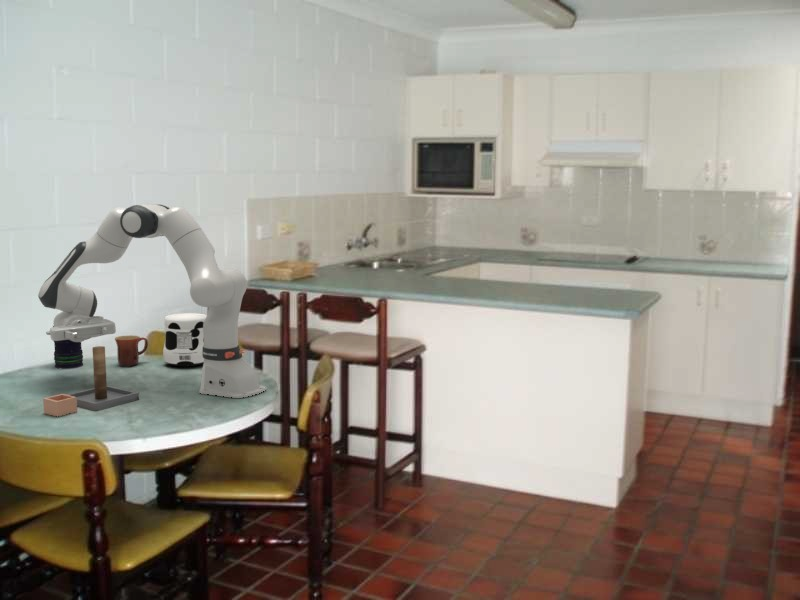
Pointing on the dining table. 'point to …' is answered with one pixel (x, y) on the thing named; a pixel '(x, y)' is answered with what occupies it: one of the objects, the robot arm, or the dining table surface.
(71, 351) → the storage jar
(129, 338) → the mug
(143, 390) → the dining table surface
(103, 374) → the dowel
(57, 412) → the pot
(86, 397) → the tray
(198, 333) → the milk container
